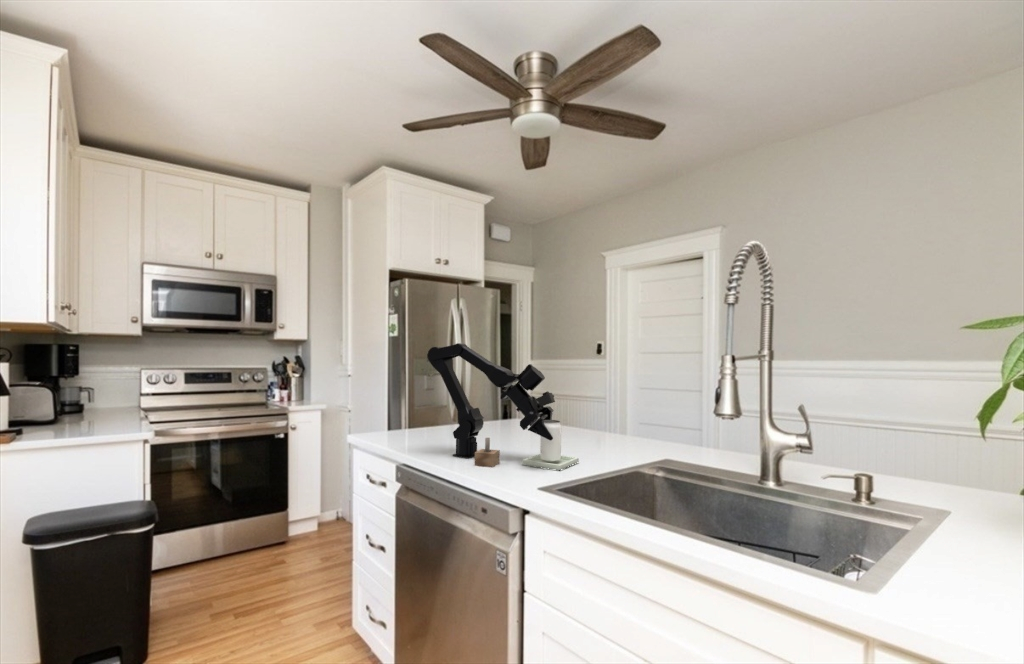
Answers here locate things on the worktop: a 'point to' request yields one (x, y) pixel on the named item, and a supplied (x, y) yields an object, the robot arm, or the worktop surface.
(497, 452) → the wooden peg block
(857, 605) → the worktop surface
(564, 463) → the tray
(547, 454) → the can
